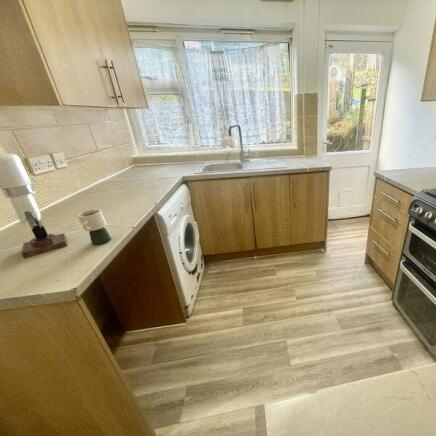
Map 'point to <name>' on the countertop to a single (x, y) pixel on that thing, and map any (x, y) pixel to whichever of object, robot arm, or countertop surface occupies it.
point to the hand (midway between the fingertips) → (42, 236)
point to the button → (42, 238)
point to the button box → (44, 245)
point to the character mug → (95, 226)
